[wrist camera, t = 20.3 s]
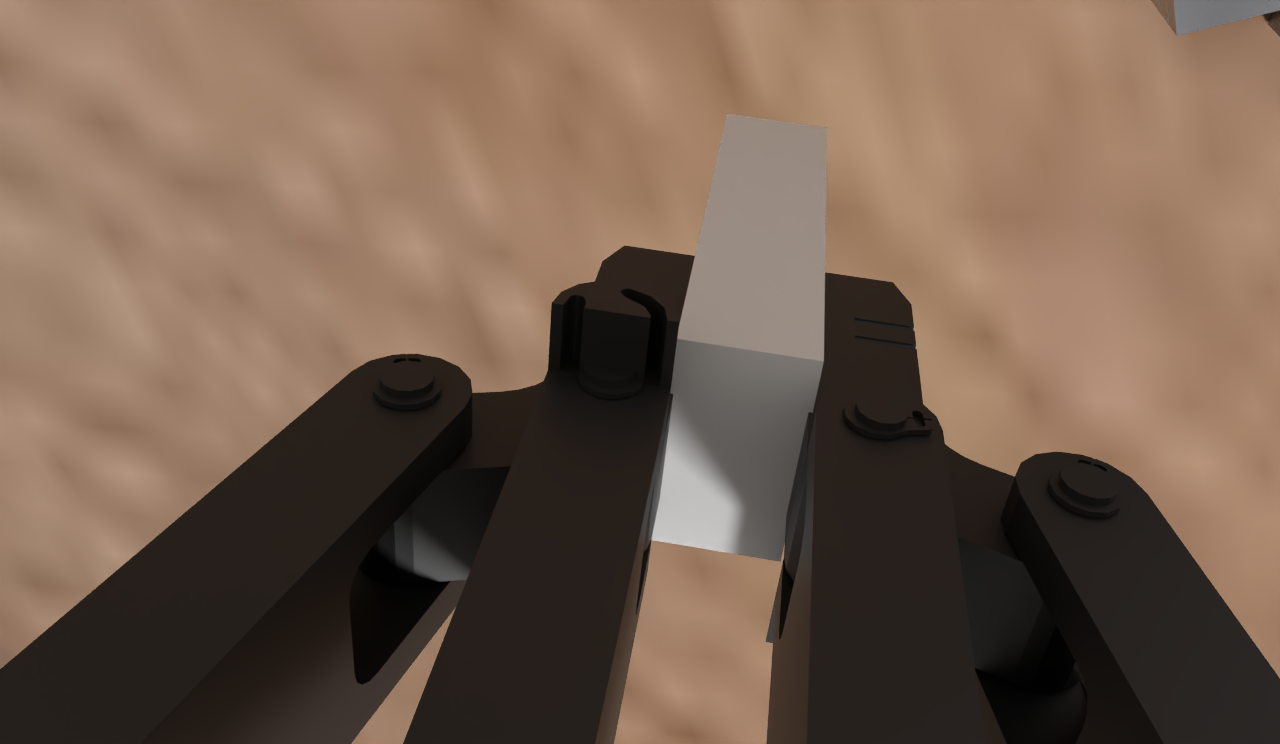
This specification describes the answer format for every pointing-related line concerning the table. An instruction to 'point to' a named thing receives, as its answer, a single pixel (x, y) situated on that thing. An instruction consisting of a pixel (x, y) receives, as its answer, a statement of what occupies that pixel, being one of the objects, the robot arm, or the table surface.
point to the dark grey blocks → (1214, 13)
